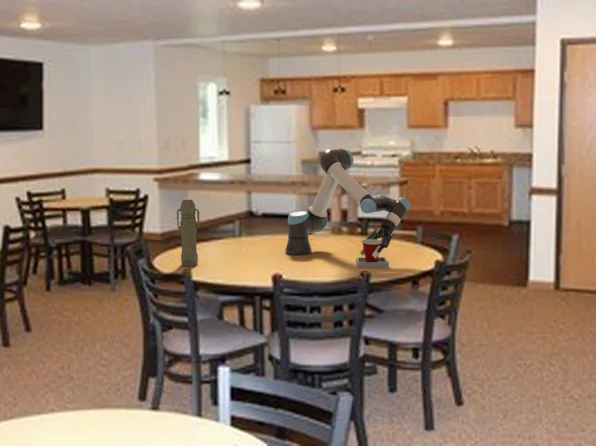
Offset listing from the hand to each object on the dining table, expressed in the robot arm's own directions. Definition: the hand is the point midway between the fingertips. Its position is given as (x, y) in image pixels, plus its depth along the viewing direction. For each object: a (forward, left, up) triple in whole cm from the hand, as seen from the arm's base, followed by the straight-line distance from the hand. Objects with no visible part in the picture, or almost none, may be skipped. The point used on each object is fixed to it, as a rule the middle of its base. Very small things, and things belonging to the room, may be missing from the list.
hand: (367, 255), depth 420 cm
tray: (+3, +2, -5) cm, 6 cm away
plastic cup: (+3, +2, -5) cm, 6 cm away
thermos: (-94, +8, -6) cm, 95 cm away
